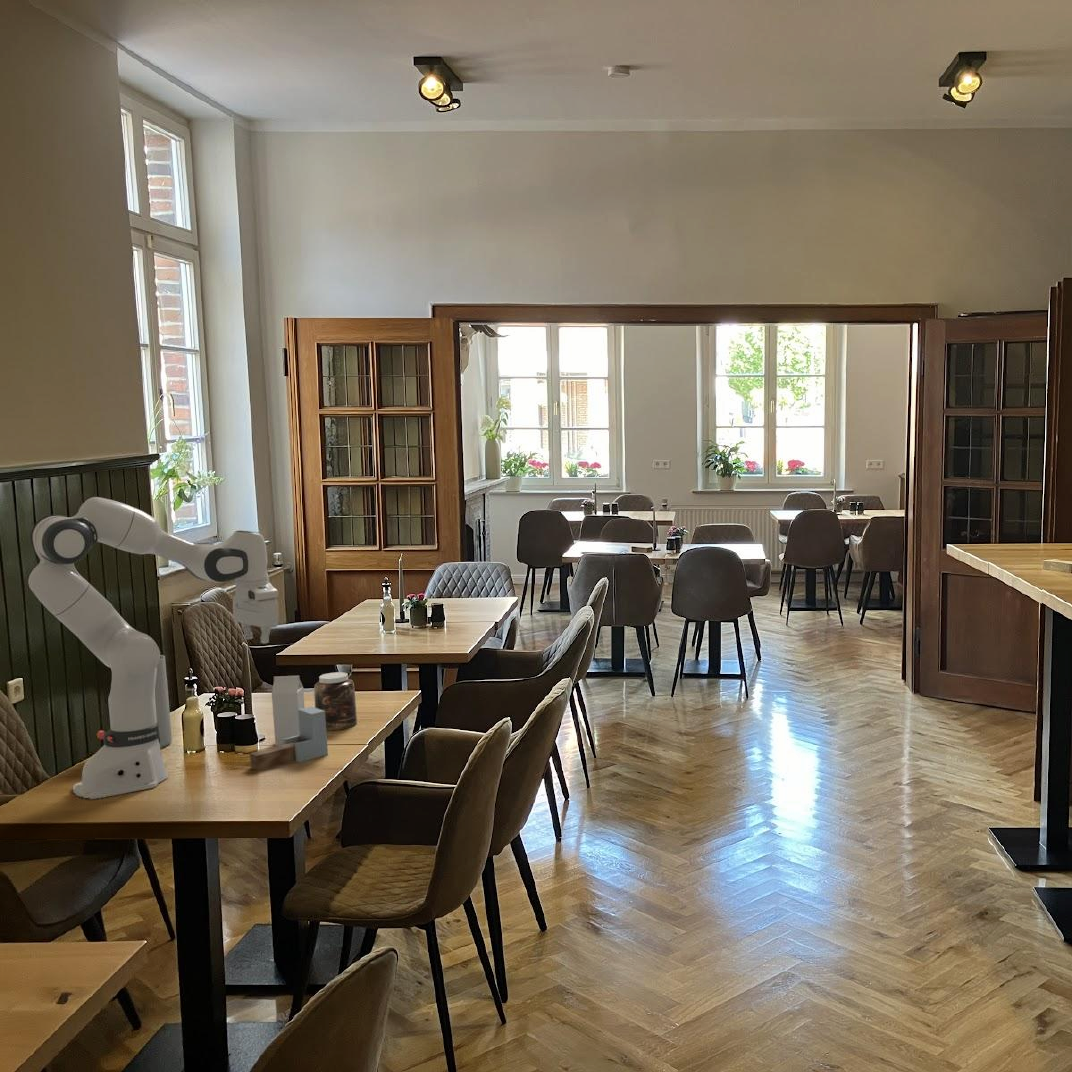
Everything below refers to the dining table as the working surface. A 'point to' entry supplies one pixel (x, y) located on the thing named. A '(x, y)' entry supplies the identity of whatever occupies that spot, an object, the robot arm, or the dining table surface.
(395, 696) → the dining table surface
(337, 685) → the jar
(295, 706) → the milk carton
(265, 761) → the rail
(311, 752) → the blue l-shaped block
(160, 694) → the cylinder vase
